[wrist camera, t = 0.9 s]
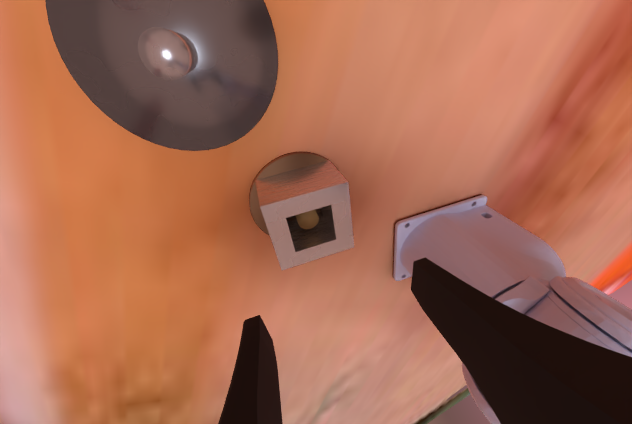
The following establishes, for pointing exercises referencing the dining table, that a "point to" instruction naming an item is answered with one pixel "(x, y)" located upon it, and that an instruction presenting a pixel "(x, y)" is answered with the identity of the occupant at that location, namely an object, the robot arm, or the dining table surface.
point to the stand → (280, 166)
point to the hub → (171, 65)
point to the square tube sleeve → (302, 196)
